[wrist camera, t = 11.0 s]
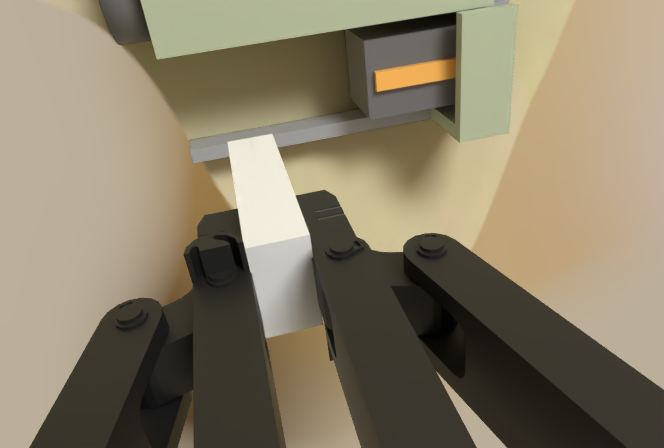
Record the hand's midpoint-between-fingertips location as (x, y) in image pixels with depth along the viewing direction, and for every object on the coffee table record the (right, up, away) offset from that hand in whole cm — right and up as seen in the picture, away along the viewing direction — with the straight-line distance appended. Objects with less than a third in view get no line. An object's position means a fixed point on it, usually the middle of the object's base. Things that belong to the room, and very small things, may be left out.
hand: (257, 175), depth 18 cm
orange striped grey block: (+8, +11, +20) cm, 24 cm away
